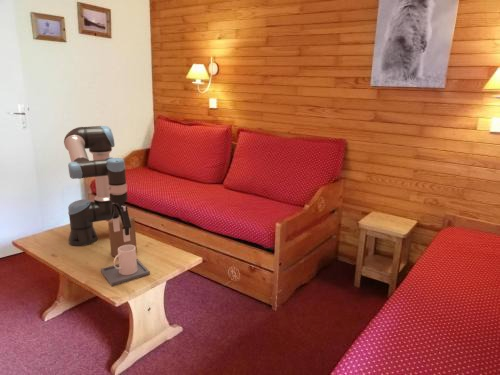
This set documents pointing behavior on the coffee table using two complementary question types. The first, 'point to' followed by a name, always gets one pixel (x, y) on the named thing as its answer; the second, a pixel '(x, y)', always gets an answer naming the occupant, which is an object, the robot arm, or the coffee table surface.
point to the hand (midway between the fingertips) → (121, 236)
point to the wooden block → (121, 236)
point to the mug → (126, 260)
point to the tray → (117, 278)
